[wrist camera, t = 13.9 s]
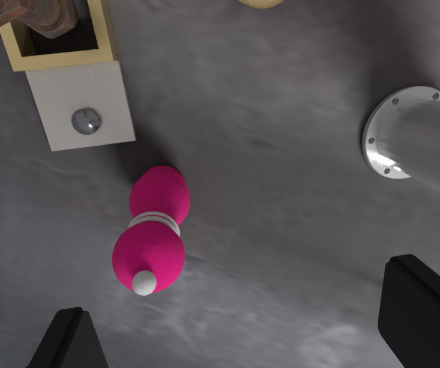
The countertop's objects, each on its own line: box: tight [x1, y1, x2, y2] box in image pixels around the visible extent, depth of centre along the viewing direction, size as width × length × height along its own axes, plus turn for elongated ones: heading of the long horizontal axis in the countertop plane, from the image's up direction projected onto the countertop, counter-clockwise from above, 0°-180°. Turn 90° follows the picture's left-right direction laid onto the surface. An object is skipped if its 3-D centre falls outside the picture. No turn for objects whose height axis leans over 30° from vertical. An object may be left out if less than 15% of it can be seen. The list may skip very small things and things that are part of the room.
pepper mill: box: [112, 166, 190, 295], centre depth 30 cm, size 7×7×20 cm
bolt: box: [0, 0, 78, 39], centre depth 24 cm, size 6×5×15 cm
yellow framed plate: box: [0, 0, 137, 151], centre depth 30 cm, size 10×28×4 cm, turn 6°
